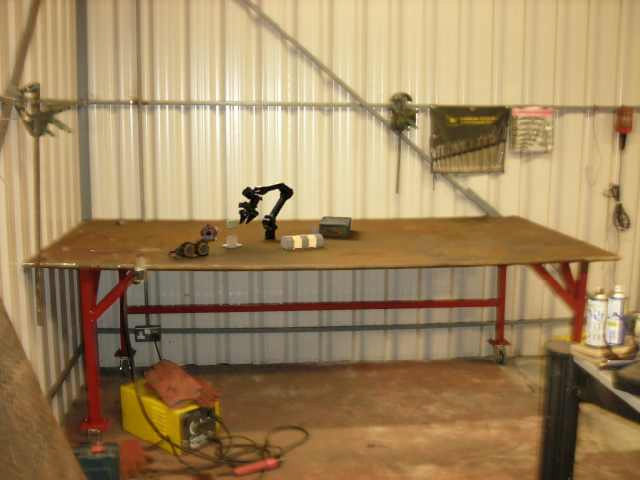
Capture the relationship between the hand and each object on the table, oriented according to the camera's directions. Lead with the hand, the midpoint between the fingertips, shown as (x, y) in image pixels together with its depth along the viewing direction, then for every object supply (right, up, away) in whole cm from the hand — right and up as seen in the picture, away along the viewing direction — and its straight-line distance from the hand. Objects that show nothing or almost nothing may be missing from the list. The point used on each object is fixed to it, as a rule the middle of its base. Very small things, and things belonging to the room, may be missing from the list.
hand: (242, 224), depth 424 cm
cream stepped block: (-6, -14, -8) cm, 17 cm away
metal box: (+60, -6, +40) cm, 72 cm away
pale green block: (-6, -3, -10) cm, 12 cm away
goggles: (-27, -19, -30) cm, 45 cm away
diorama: (+38, -15, -7) cm, 42 cm away
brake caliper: (-24, -10, +14) cm, 30 cm away
